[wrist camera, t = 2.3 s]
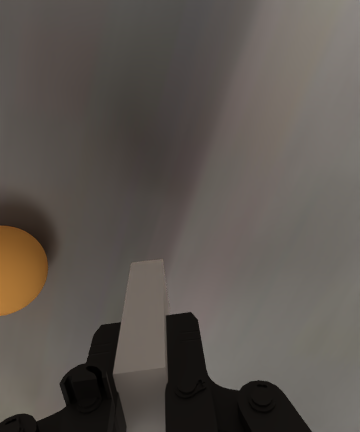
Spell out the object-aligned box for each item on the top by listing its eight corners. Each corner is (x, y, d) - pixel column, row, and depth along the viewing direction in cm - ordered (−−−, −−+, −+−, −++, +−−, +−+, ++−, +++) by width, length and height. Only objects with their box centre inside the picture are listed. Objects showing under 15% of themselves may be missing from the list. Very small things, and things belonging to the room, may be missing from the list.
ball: (66, 279, 24) (40, 329, 19) (-10, 289, 24) (-57, 342, 19) (47, 208, 22) (13, 241, 17) (-35, 219, 22) (-95, 255, 17)
